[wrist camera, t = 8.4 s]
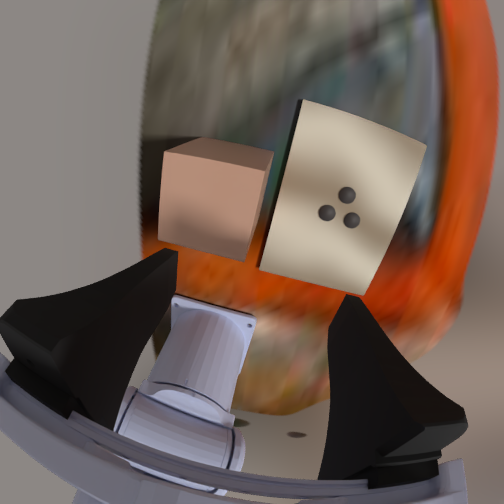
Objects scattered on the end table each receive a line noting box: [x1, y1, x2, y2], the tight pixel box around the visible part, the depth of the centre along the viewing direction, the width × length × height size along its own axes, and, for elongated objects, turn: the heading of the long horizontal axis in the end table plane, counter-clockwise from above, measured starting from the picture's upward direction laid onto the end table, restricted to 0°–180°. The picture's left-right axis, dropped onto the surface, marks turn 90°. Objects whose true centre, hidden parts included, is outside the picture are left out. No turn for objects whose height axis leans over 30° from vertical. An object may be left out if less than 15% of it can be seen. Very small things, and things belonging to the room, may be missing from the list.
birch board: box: [259, 100, 427, 296], centre depth 18 cm, size 13×9×1 cm
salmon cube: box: [158, 137, 274, 262], centre depth 16 cm, size 5×5×6 cm
